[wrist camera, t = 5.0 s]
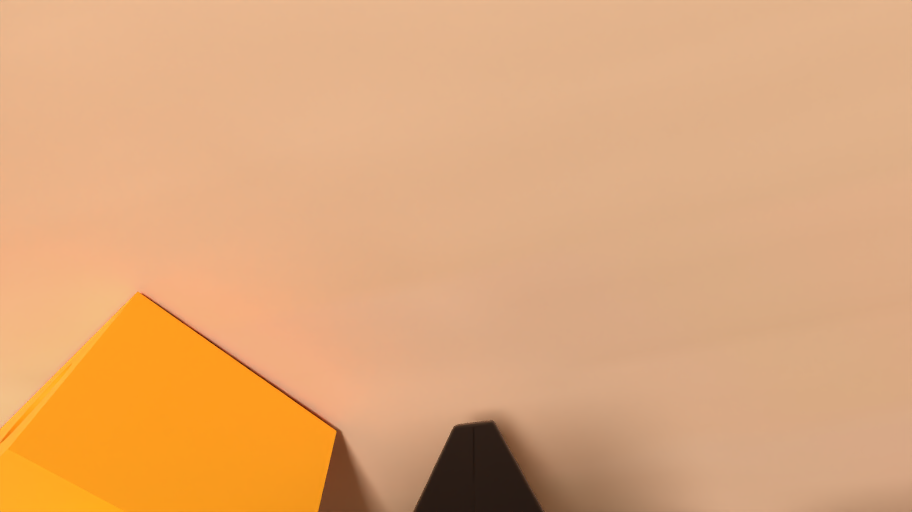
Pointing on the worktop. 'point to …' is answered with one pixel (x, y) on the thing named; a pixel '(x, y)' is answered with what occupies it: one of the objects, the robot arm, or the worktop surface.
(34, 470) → the pipe clamp
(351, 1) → the worktop surface
